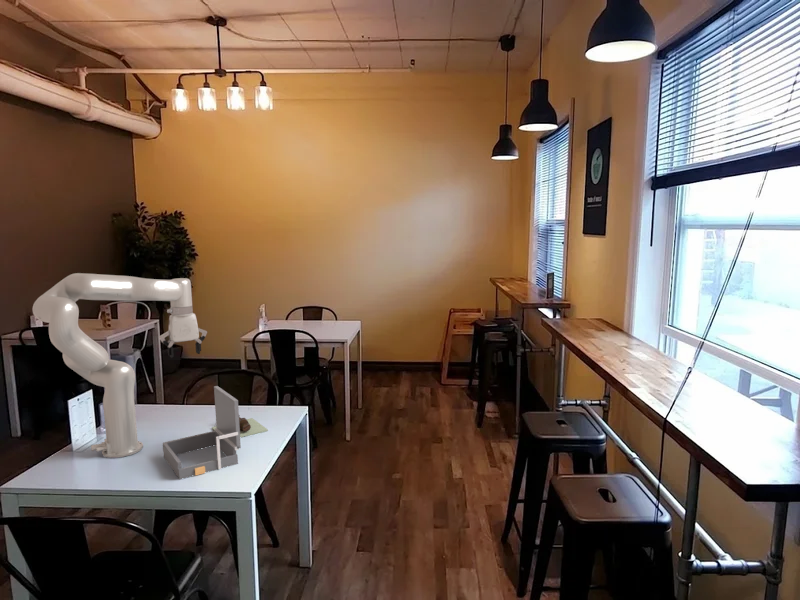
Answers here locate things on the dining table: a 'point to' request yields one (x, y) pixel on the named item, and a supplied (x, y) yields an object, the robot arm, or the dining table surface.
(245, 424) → the bolt
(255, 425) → the mat
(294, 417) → the dining table surface
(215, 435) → the case
